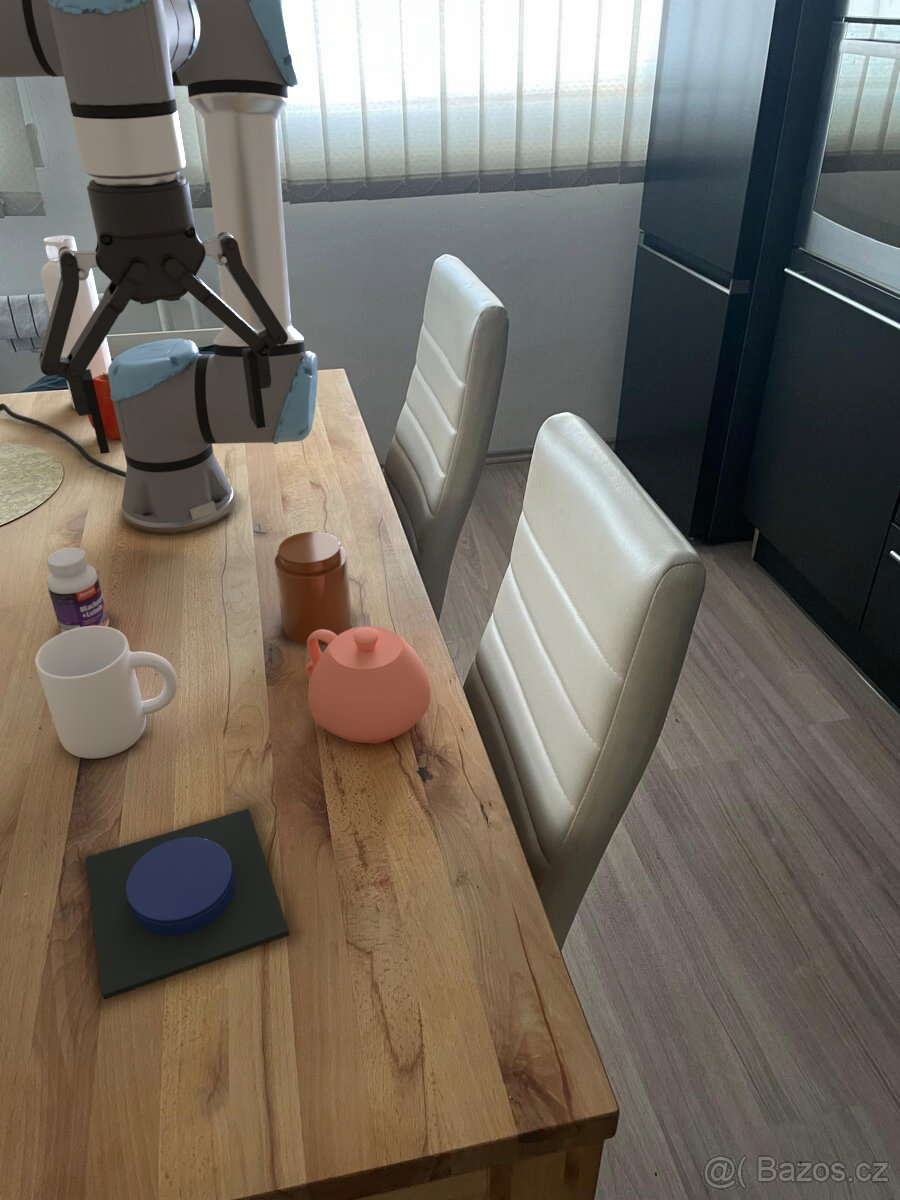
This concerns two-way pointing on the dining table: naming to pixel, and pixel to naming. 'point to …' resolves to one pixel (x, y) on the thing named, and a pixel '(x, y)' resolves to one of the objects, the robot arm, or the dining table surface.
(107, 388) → the apple
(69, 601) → the pill bottle
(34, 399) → the dining table surface
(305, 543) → the jar
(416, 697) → the sugar bowl
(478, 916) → the dining table surface
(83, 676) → the mug
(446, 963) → the dining table surface
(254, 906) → the mat
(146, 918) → the lid
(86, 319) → the bottle
